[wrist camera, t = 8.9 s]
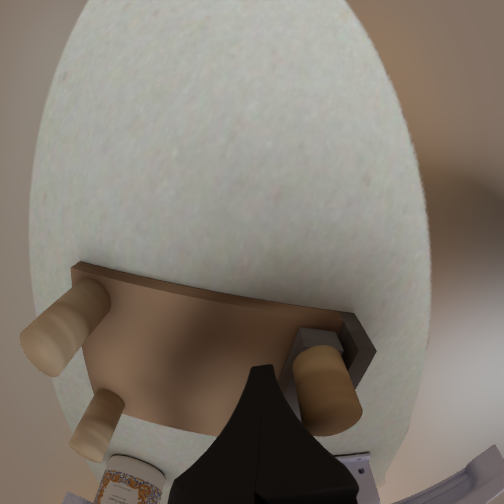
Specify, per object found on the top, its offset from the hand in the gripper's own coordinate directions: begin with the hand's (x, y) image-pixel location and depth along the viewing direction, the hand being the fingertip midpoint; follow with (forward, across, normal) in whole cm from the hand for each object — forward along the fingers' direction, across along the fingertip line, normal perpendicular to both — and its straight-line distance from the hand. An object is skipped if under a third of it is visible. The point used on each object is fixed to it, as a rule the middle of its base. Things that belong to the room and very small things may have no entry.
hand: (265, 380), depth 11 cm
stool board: (+3, +5, +2) cm, 6 cm away
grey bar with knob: (+2, -1, +3) cm, 4 cm away
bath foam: (+4, +18, +19) cm, 26 cm away
